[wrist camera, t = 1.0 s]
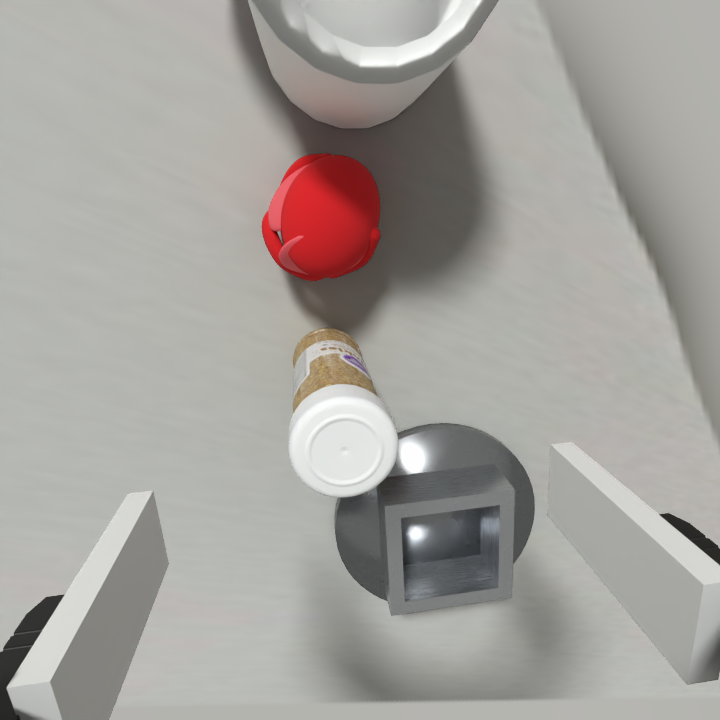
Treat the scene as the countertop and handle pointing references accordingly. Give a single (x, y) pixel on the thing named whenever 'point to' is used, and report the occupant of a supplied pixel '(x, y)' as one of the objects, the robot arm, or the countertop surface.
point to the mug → (362, 52)
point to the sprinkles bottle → (338, 418)
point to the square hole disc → (439, 521)
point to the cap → (323, 217)
